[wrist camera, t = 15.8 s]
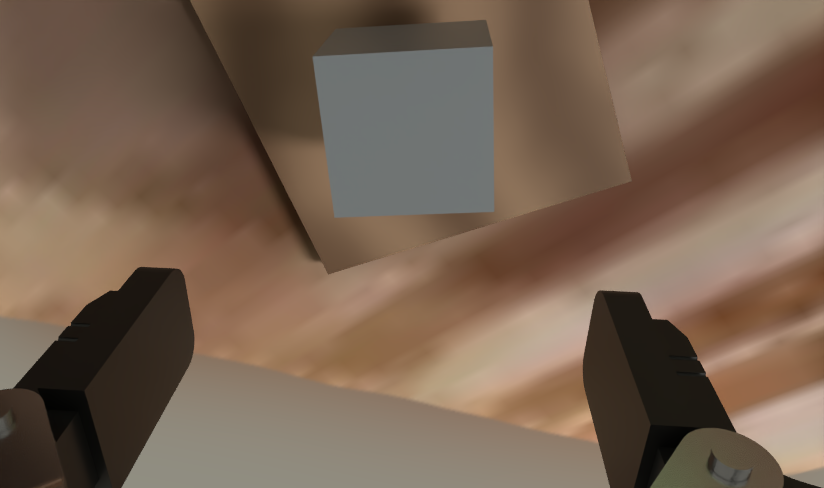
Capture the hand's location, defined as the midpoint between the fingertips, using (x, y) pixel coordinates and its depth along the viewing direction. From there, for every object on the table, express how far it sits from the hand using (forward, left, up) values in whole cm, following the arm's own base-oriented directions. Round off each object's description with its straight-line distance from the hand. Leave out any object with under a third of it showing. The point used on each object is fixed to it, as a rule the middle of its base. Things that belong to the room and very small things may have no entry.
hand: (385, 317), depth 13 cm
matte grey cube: (0, 0, -16) cm, 16 cm away
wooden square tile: (0, 0, -20) cm, 20 cm away
